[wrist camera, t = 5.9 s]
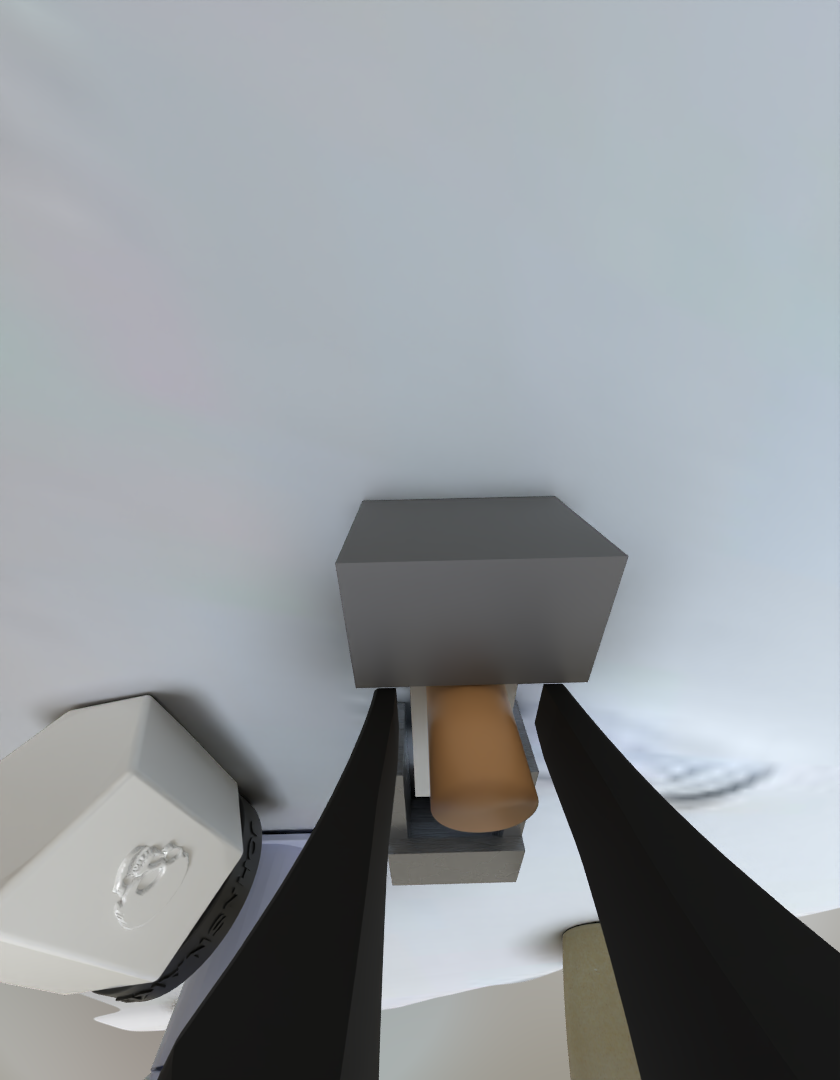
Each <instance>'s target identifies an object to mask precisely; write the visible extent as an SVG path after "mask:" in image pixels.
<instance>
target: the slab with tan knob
mask: <svg viewBox="0 0 840 1080" xmlns="http://www.w3.org/2000/svg"><path fill="white" fill-rule="evenodd" d="M517 685H518V684H492V685H454V686H415V687H410V697H411V717H412V737H413V757H414V777H415V796H416V797H428V796H430V804H431V813H432V815H433V817H434V818H435V819H436V820H437V821H438V822H439V823H440V824H442V825H444V826H446V827H448V828H451V829H454V830H458V831H464V832H476V833H481V832H493V831H498V830H503V829H507V828H510V827H513V826H515V825H518V824H520V823H522V822H523V821H525V820H527V819H528V818H529V817H530V816H532V815H533V813H534V812H535V811H536V809H537V807H538V803H539V801H538V796H537V793H536V789H535V786H534V783H533V779H532V776H531V772H530V769H529V766H528V762H527V759H526V755H525V752H524V749H523V745H522V742H521V739H520V735H519V732H518V728H517V725H516V722H515V718H514V715H513V707H514V701H515V696H516V690H517Z"/></svg>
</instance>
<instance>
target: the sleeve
mask: <svg viewBox="0 0 840 1080" xmlns="http://www.w3.org/2000/svg"><path fill="white" fill-rule="evenodd" d="M397 707H398V720H399V747H398V767H397V776H396V785H395V794H394V803H393V812H392V821H391V830H390V839H389V848H388V859H389V865H390V872H391V878H392V885H425V884H460V883H496V882H516V880H517V877H518V873H519V870H520V867H521V863H522V860H523V856H524V853H525V848H524V843H523V839H522V832H523V829H524V825H525V821H526V820H525V821H523V822H522V823H520V824H518V825H515V826H513V827H510V828H507V829H503V830H498V831H493V832H481V833H476V832H464V831H458V830H454V829H451V828H448V827H446V826H444V825H442V824H440V823H439V822H438V821H437V820H436V819H435V818H434V817H433V815H432V813H431V804H430V798H424V799H411V791H410V775H409V759H408V743H407V727H406V711H405V703H397ZM513 715H514V718H515V722H516V725H517V728H518V732H519V735H520V739H521V742H522V745H523V749H524V752H525V755H526V759H527V762H528V766H529V769H530V772H531V776H532V779H533V783H534V786H535V785H536V781H537V777H538V774H539V771H538V767H537V764H536V761H535V758H534V755H533V752H532V748H531V745H530V742H529V739H528V736H527V733H526V730H525V726H524V723H523V720H522V717H521V714H520V711H519V708H518V704H517V701H516V700H515V701H514V707H513Z"/></svg>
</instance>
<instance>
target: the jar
mask: <svg viewBox="0 0 840 1080" xmlns="http://www.w3.org/2000/svg"><path fill="white" fill-rule="evenodd" d="M261 849H262V829H261V823H260V819H259V817H258V814H257V812H256V811H255V809H254V808H253V807H252V806H251V805H250V804H249V803H248V802H247V801H246V800H245V799H244V798H243V797H242V796H241V795H240V794H239V793H238V784H237V783H236V782H235V781H234V780H233V778H232V777H231V776H230V775H229V774H228V773H227V772H226V771H225V770H224V769H223V768H222V767H221V766H220V765H219V764H218V763H217V762H216V761H215V760H214V759H213V758H212V756H211V755H210V754H209V753H208V752H207V751H206V750H205V749H204V748H203V747H202V746H201V745H200V744H199V743H198V742H197V741H196V740H195V739H194V738H193V737H192V736H191V735H190V734H189V733H188V732H187V730H186V729H185V728H184V727H183V726H182V725H181V724H180V723H178V722H177V721H176V720H175V719H174V718H173V717H172V716H171V715H170V714H169V713H168V712H167V711H166V710H165V709H164V708H163V707H162V706H161V705H160V704H159V703H158V702H157V701H156V700H155V699H154V698H153V697H152V696H150V695H144V696H139V697H134V698H129V699H124V700H119V701H114V702H109V703H104V704H99V705H94V706H89V707H84V708H79V709H74V710H70V711H68V712H66V713H65V714H64V715H62V716H61V717H59V718H58V719H57V720H55V721H54V722H53V723H51V724H50V725H49V726H47V727H46V728H44V729H43V730H42V731H40V732H39V733H38V734H36V735H35V736H34V737H32V738H31V739H29V740H28V741H27V742H25V743H24V744H23V745H21V746H20V747H19V748H17V749H16V750H14V751H13V752H12V753H10V754H9V755H8V756H6V757H5V758H4V759H2V760H1V761H0V982H1V983H6V984H12V985H16V986H21V987H26V988H32V989H37V990H42V991H48V992H52V993H57V994H62V995H69V994H76V993H82V992H89V991H92V992H94V993H96V994H100V995H105V996H110V997H114V998H116V1001H122V1002H126V1003H129V1002H142V1001H148V1000H152V999H155V998H158V997H160V996H162V995H164V994H166V993H168V992H170V991H171V990H173V989H174V988H176V987H177V986H179V985H180V984H181V983H183V982H184V981H185V980H187V979H188V978H189V977H190V976H191V975H192V974H193V973H195V972H196V971H197V970H198V969H199V968H200V967H201V966H202V965H203V963H204V962H205V961H206V960H207V959H208V958H209V957H210V956H211V954H212V953H213V952H214V951H215V950H216V948H217V947H218V946H219V944H220V943H221V942H222V940H223V939H224V937H225V936H226V935H227V933H228V932H229V930H230V928H231V927H232V925H233V924H234V922H235V920H236V918H237V917H238V915H239V913H240V911H241V909H242V907H243V905H244V903H245V901H246V899H247V897H248V895H249V892H250V890H251V887H252V885H253V882H254V879H255V876H256V873H257V869H258V865H259V861H260V856H261Z"/></svg>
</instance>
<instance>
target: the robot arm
mask: <svg viewBox="0 0 840 1080" xmlns="http://www.w3.org/2000/svg"><path fill="white" fill-rule="evenodd" d="M535 726H536V730H537V734H538V738H539V742H540V745H541V749H542V753H543V756H544V759H545V762H546V765H547V768H548V770H549V773H550V776H551V778H552V781H553V784H554V787H555V789H556V792H557V795H558V797H559V800H560V803H561V805H562V808H563V811H564V813H565V816H566V819H567V821H568V824H569V827H570V829H571V832H572V835H573V837H574V840H575V843H576V845H577V848H578V851H579V854H580V857H581V860H582V863H583V866H584V870H585V873H586V876H587V880H588V883H589V886H590V890H591V893H592V897H593V900H594V903H595V907H596V910H597V914H598V917H599V921H600V924H601V928H602V932H603V935H604V939H605V942H606V946H607V949H608V953H609V956H610V960H611V964H612V968H613V971H614V975H615V979H616V983H617V987H618V990H619V994H620V998H621V1002H622V1005H623V1009H624V1013H625V1017H626V1021H627V1024H628V1029H629V1033H630V1037H631V1041H632V1045H633V1049H634V1053H635V1057H636V1061H637V1065H638V1069H639V1073H640V1077H641V1080H840V953H839V952H838V951H837V950H836V949H834V948H833V947H832V946H831V945H829V944H828V943H827V942H826V941H824V940H823V939H822V938H821V937H820V936H818V935H817V934H816V933H815V932H814V931H812V930H811V929H810V928H809V927H807V926H806V925H805V924H804V923H802V922H801V921H800V920H799V919H797V918H796V917H795V916H794V915H793V914H792V913H790V912H789V911H788V910H787V909H785V908H784V907H783V906H782V905H781V904H780V903H779V902H777V901H776V900H775V899H774V898H773V897H772V896H770V895H769V894H768V893H767V892H766V891H765V890H763V889H762V888H761V887H760V886H759V885H758V884H757V883H755V882H754V881H753V880H752V879H751V878H750V877H748V876H747V875H746V874H745V873H744V872H743V871H741V870H740V869H739V868H738V867H737V866H736V865H735V864H733V863H732V862H731V861H730V860H729V859H728V858H727V857H725V856H724V855H723V854H722V853H721V852H720V851H719V850H718V849H717V848H716V847H715V846H713V845H712V844H711V843H710V842H709V841H708V840H707V839H706V838H705V837H704V836H703V835H701V834H700V833H699V832H698V831H697V830H696V829H695V828H694V827H693V826H692V825H691V824H690V823H689V822H688V821H687V820H686V819H685V818H684V817H683V816H682V815H680V814H679V813H678V812H677V811H676V810H675V809H674V808H673V807H672V806H671V805H670V804H669V803H668V802H667V801H666V800H665V799H664V798H663V797H662V796H661V795H660V794H659V793H658V792H657V791H656V790H655V789H654V788H653V786H652V785H651V784H650V783H649V782H648V781H647V780H646V779H645V778H644V777H643V776H642V775H641V774H640V773H639V772H638V771H637V770H636V769H635V768H634V766H633V765H632V764H631V763H630V762H629V761H628V760H627V759H626V758H625V757H624V755H623V754H622V753H621V752H620V751H619V750H618V749H617V748H616V747H615V745H614V744H613V743H612V742H611V741H610V740H609V739H608V738H607V736H606V735H605V734H604V733H603V732H602V731H601V729H600V728H599V727H598V726H597V725H596V724H595V722H594V721H593V720H592V719H591V718H590V716H589V715H588V714H587V713H586V712H585V710H584V709H583V708H582V707H581V706H580V704H579V703H578V702H577V701H576V700H575V698H574V697H573V696H572V695H571V693H570V692H569V691H568V690H567V688H566V687H565V686H564V685H563V684H544V685H543V689H542V693H541V698H540V702H539V706H538V711H537V715H536V719H535ZM398 747H399V720H398V707H397V695H396V688H378V689H376V690H375V691H374V695H373V699H372V702H371V705H370V708H369V711H368V714H367V717H366V720H365V722H364V725H363V728H362V730H361V733H360V735H359V737H358V740H357V742H356V744H355V747H354V749H353V751H352V754H351V756H350V758H349V761H348V763H347V765H346V767H345V769H344V771H343V773H342V775H341V777H340V780H339V782H338V784H337V786H336V788H335V790H334V792H333V794H332V796H331V798H330V800H329V802H328V804H327V806H326V807H325V809H324V811H323V813H322V815H321V817H320V819H319V821H318V822H317V824H316V826H315V828H314V830H313V831H312V833H307V834H271V835H262V849H261V856H260V861H259V865H258V869H257V873H256V876H255V879H254V882H253V885H252V887H251V890H250V892H249V895H248V897H247V899H246V901H245V903H244V905H243V907H242V909H241V911H240V913H239V915H238V917H237V918H236V920H235V922H234V924H233V925H232V927H231V928H230V930H229V932H228V933H227V935H226V936H225V937H224V939H223V940H222V942H221V943H220V944H219V946H218V947H217V948H216V950H215V951H214V952H213V953H212V954H211V956H210V957H209V958H208V959H207V960H206V961H205V962H204V963H203V965H202V966H201V967H200V968H199V969H198V970H197V971H196V972H195V973H193V974H192V975H191V976H190V977H189V978H188V979H187V980H185V982H184V984H183V987H182V990H181V992H180V995H179V997H178V1000H177V1003H176V1005H175V1008H174V1011H173V1013H172V1016H171V1018H170V1021H169V1024H168V1026H167V1029H166V1031H165V1034H164V1037H163V1039H162V1042H161V1044H160V1047H159V1050H158V1052H157V1055H156V1057H155V1060H154V1063H153V1065H152V1068H151V1071H152V1072H151V1073H150V1074H149V1075H148V1076H147V1077H146V1078H145V1079H144V1080H379V1053H380V1023H381V997H382V970H383V945H384V921H385V898H386V876H387V861H388V848H389V839H390V830H391V821H392V812H393V803H394V794H395V785H396V776H397V767H398Z"/></svg>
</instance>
